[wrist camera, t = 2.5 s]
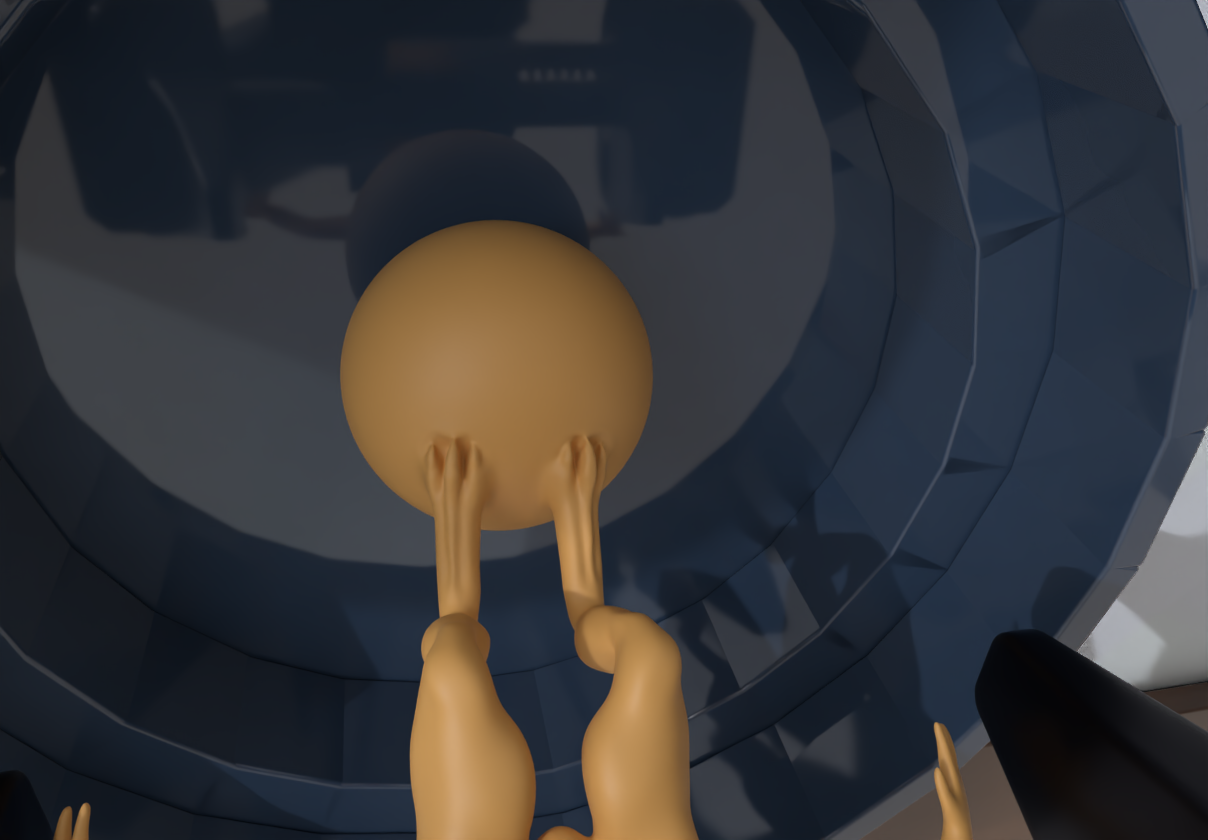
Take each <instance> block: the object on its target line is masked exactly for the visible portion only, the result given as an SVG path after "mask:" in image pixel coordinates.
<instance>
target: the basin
mask: <svg viewBox="0 0 1208 840" xmlns="http://www.w3.org/2000/svg"><path fill="white" fill-rule="evenodd" d="M483 220H509V221H518V222H524V223H529V224H533V225H537V226H541V227H544V228H547V229H550V230H552V231H555V232H557V233H560V234H562V235H564V236H566V237H568V238H570V239H572V240H573V241H575V242H577V243H579V244H580V245H582V246H583V247H585V248H586V249H588V250H589V251H590V252H592V253H593V254H594V255H595V256H597V257H598V258H599V259H600V260H601V261H602V262H603V263H604V264H605V265H606V266H607V267H608V268H609V269H610V270H611V271H612V272H613V273H614V274H615V275H616V276H617V278H618V279H619V280H620V281H621V283H622V284H623V285H624V287H625V288H626V290H627V291H628V293H629V294H630V296H631V298H632V299H633V301H634V303H635V305H636V307H637V309H638V311H639V313H640V315H641V318H642V320H643V323H644V326H645V329H646V332H647V336H648V340H649V344H650V349H651V356H652V366H653V386H652V396H651V403H650V408H649V412H648V416H647V420H646V423H645V426H644V429H643V432H642V434H641V437H640V439H639V441H638V443H637V445H636V447H635V449H634V451H633V453H632V454H631V456H630V458H629V459H628V461H627V462H626V464H625V465H624V467H623V468H622V469H621V471H620V472H619V473H618V474H617V476H616V477H615V478H614V479H613V480H612V481H611V482H610V483H609V484H608V485H607V486H606V487H605V488H604V489H603V490H602V491H601V494H600V499H599V506H598V520H599V535H600V547H601V560H602V576H603V595H604V605H605V606H616V607H620V608H624V609H627V610H629V611H631V612H638V613H642V614H645V615H647V616H648V617H650V618H651V619H652V620H653V621H654V622H655V623H656V624H657V625H659V626H660V627H661V628H662V629H663V630H664V631H666V632H667V633H668V634H669V635H670V636H671V637H672V638H673V640H674V641H675V642H676V644H677V646H678V648H679V651H680V655H681V662H682V672H681V688H682V694H683V699H684V704H685V708H686V713H687V719H688V727H689V771H690V808H691V815H692V819H693V823H694V826H695V829H696V832H697V835H698V838H699V840H860V839H861V838H863V837H864V836H866V835H867V834H869V833H870V832H872V831H873V830H875V829H876V828H878V827H879V826H881V825H882V824H883V823H885V822H886V821H888V820H889V819H891V818H892V817H894V816H895V815H897V814H898V813H900V812H901V811H902V810H904V809H905V808H907V807H908V806H910V805H911V804H913V803H914V802H916V801H917V800H919V799H920V798H922V797H923V796H924V795H926V794H927V793H929V792H930V791H932V790H933V789H935V788H936V785H935V779H934V771H935V769H936V768H937V767H938V768H939V769H940V766H939V760H938V749H937V741H936V736H935V732H934V723H935V722H938V723H942V724H944V725H945V727H946V728H947V730H948V732H949V734H950V736H951V739H952V741H953V744H954V748H955V752H956V757H957V763H958V768H959V770H960V769H961V768H962V767H963V766H964V765H965V764H966V763H967V762H968V761H969V760H970V759H971V758H973V757H974V756H975V755H976V754H977V753H978V752H979V751H980V750H981V749H982V748H983V747H984V746H985V745H986V744H988V743H989V742H990V738H989V736H988V734H987V731H986V729H985V727H984V724H983V722H982V720H981V717H980V715H979V713H978V710H977V707H976V702H975V685H976V682H977V679H978V677H979V674H980V671H981V669H982V666H983V664H984V661H985V659H986V656H987V653H988V651H989V648H990V646H991V643H992V641H993V639H994V638H995V637H996V636H997V635H999V634H1000V633H1003V632H1009V631H1016V630H1023V629H1037V630H1040V631H1042V632H1044V633H1046V634H1048V635H1050V636H1051V637H1053V638H1055V639H1056V640H1058V641H1059V642H1061V643H1063V644H1064V645H1066V646H1068V647H1069V648H1071V649H1073V650H1074V651H1076V652H1077V650H1078V649H1079V648H1080V647H1081V645H1082V644H1083V643H1084V641H1085V640H1086V639H1087V637H1088V636H1089V635H1090V633H1091V632H1092V631H1093V629H1094V628H1095V627H1096V625H1097V624H1098V623H1099V621H1100V620H1101V619H1102V617H1103V616H1104V615H1105V614H1106V612H1107V611H1108V610H1109V608H1110V607H1111V606H1112V604H1113V603H1114V602H1115V600H1116V599H1117V598H1118V596H1119V595H1120V594H1121V592H1122V591H1123V590H1124V588H1125V587H1126V586H1127V584H1128V583H1129V582H1130V581H1131V579H1132V578H1133V577H1134V575H1135V574H1136V573H1137V571H1138V569H1139V567H1138V566H1140V565H1141V564H1142V563H1143V562H1144V560H1145V558H1146V555H1147V553H1148V551H1149V549H1150V547H1151V545H1152V543H1153V541H1154V539H1155V537H1156V535H1157V533H1158V531H1159V529H1160V526H1161V524H1162V522H1163V520H1164V518H1165V516H1166V514H1167V512H1168V510H1169V508H1170V506H1171V504H1172V502H1173V500H1174V497H1175V495H1176V493H1177V491H1178V489H1179V487H1180V485H1181V483H1182V481H1183V479H1184V477H1185V475H1186V473H1187V471H1188V468H1189V466H1190V464H1191V462H1192V460H1193V458H1194V456H1195V454H1196V452H1197V450H1198V448H1199V446H1200V444H1201V441H1202V439H1203V437H1204V435H1205V431H1204V429H1205V428H1206V427H1207V426H1208V28H1207V26H1206V23H1205V21H1204V18H1203V16H1202V14H1201V11H1200V9H1199V6H1198V4H1197V1H1196V0H0V772H3V771H10V770H18V771H20V772H22V773H23V774H25V775H26V776H27V778H28V779H29V781H30V783H31V785H32V787H33V790H34V792H35V794H36V796H37V798H38V800H39V803H40V805H41V807H42V809H43V811H44V813H45V815H46V818H47V820H48V822H49V824H50V827H51V830H52V835H53V837H54V834H55V831H56V827H57V823H58V820H59V817H60V815H61V813H62V811H63V810H64V809H65V808H66V807H68V806H70V807H71V808H72V837H73V832H74V828H75V824H76V821H77V817H78V814H79V811H80V809H81V807H82V805H83V804H84V803H88V804H89V805H90V819H89V830H88V837H89V840H417V825H416V813H415V806H414V800H413V794H412V786H411V775H410V741H411V733H412V727H413V721H414V716H415V710H416V704H417V698H418V692H419V687H420V682H421V676H422V670H423V665H424V660H423V657H422V652H421V644H422V639H423V636H424V633H425V631H426V630H427V628H428V627H429V626H430V625H431V624H432V623H433V622H434V621H436V620H437V619H439V618H440V615H439V602H438V587H437V568H436V542H435V520H434V517H432V516H430V515H428V514H426V513H424V512H422V511H420V510H419V509H417V508H415V507H414V506H412V505H410V504H409V503H408V502H406V501H405V500H403V499H402V498H401V497H399V496H398V495H397V494H396V493H395V492H393V491H392V490H391V489H390V488H389V487H388V486H387V485H386V484H385V483H384V482H383V481H382V480H381V479H380V478H379V476H378V475H377V474H376V473H375V472H374V470H373V469H372V468H371V466H370V465H369V464H368V462H367V461H366V459H365V458H364V456H363V454H362V453H361V451H360V449H359V447H358V445H357V444H356V441H355V439H354V437H353V435H352V432H351V430H350V427H349V424H348V421H347V418H346V414H345V410H344V406H343V401H342V394H341V383H340V366H341V355H342V348H343V343H344V338H345V335H346V331H347V328H348V325H349V322H350V319H351V317H352V314H353V312H354V310H355V308H356V306H357V304H358V302H359V300H360V298H361V296H362V295H363V293H364V291H365V290H366V288H367V287H368V286H369V284H370V283H371V281H372V280H373V279H374V278H375V276H376V275H377V274H378V273H379V272H380V271H381V270H382V269H383V267H384V266H385V265H386V264H387V263H389V262H390V261H391V260H392V259H393V258H394V257H395V256H396V255H398V254H399V253H400V252H401V251H403V250H404V249H406V248H407V247H408V246H410V245H412V244H413V243H415V242H416V241H418V240H420V239H422V238H424V237H426V236H428V235H430V234H432V233H434V232H437V231H439V230H442V229H445V228H448V227H451V226H454V225H458V224H463V223H468V222H474V221H483ZM480 584H481V594H480V605H479V614H478V622H479V623H480V624H481V625H482V626H483V627H484V628H485V629H486V630H487V632H488V633H489V636H490V649H489V654H488V657H487V660H486V663H487V666H488V668H489V671H490V674H491V677H492V680H493V684H494V687H495V690H496V693H497V696H498V698H499V700H500V703H501V704H502V706H503V708H504V709H505V711H506V712H507V713H508V715H509V716H510V717H511V718H512V720H513V721H514V722H515V723H516V725H517V726H518V728H519V729H520V731H521V732H522V734H523V736H524V738H525V740H526V742H527V745H528V747H529V750H530V753H531V756H532V760H533V764H534V769H535V778H536V798H535V809H534V816H533V821H532V825H531V829H530V834H529V840H537V839H538V838H539V837H540V836H541V835H542V834H543V833H545V832H546V831H547V830H549V829H551V828H553V827H557V826H566V827H570V828H572V829H574V830H576V831H577V832H579V833H580V834H582V835H584V836H586V837H590V836H591V835H592V834H593V819H592V815H591V812H590V808H589V804H588V800H587V795H586V791H585V786H584V780H583V773H582V744H583V739H584V735H585V732H586V730H587V727H588V725H589V723H590V722H591V720H592V719H593V717H594V716H595V714H596V713H597V711H598V710H599V709H600V707H601V706H602V705H603V703H604V702H605V700H606V698H607V696H608V694H609V692H610V689H611V686H612V683H613V677H614V674H610V673H605V672H602V671H599V670H596V669H593V668H591V667H589V666H587V665H586V664H585V663H584V662H583V661H582V660H581V659H580V658H579V656H578V654H577V651H576V648H575V641H574V634H575V630H574V629H573V627H572V625H571V622H570V619H569V616H568V612H567V607H566V602H565V597H564V592H563V585H562V575H561V566H560V558H559V551H558V544H557V537H556V529H555V522H554V520H553V521H550V522H547V523H544V524H541V525H537V526H533V527H529V528H523V529H516V530H505V531H490V530H481V536H480Z"/></svg>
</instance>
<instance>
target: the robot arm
mask: <svg viewBox="0 0 1208 840" xmlns="http://www.w3.org/2000/svg"><path fill="white" fill-rule="evenodd" d="M975 702H976V707H977V710H978V713H979V715H980V717H981V720H982V722H983V724H984V727H985V729H986V731H987V734H988V736H989V738H990V741H991V743H992V745H993V748H994V750H995V752H996V755H997V757H998V759H999V762H1000V764H1001V766H1002V769H1003V771H1004V773H1005V776H1006V778H1007V780H1008V783H1009V785H1010V787H1011V790H1012V792H1013V794H1014V797H1015V799H1016V801H1017V804H1018V806H1019V808H1020V811H1021V813H1022V815H1023V818H1024V820H1025V822H1026V825H1027V827H1028V829H1029V831H1030V833H1031V836H1032V838H1033V840H1208V731H1206V730H1204V729H1203V728H1201V727H1199V726H1198V725H1196V724H1195V723H1193V722H1191V721H1190V720H1188V719H1186V718H1185V717H1183V716H1181V715H1180V714H1178V713H1176V712H1175V711H1173V710H1171V709H1170V708H1168V707H1167V706H1165V705H1163V704H1162V703H1160V702H1158V701H1157V700H1155V699H1153V698H1152V697H1150V696H1148V695H1147V694H1145V693H1143V692H1142V691H1140V690H1139V689H1137V688H1135V687H1134V686H1132V685H1130V684H1129V683H1127V682H1125V681H1124V680H1122V679H1120V678H1119V677H1117V676H1115V675H1114V674H1112V673H1111V672H1109V671H1107V670H1106V669H1104V668H1102V667H1101V666H1099V665H1097V664H1096V663H1094V662H1092V661H1091V660H1089V659H1087V658H1086V657H1084V656H1083V655H1081V654H1079V653H1078V652H1076V651H1074V650H1073V649H1071V648H1069V647H1068V646H1066V645H1064V644H1063V643H1061V642H1059V641H1058V640H1056V639H1055V638H1053V637H1051V636H1050V635H1048V634H1046V633H1044V632H1042V631H1040V630H1037V629H1023V630H1016V631H1009V632H1003V633H1000V634H999V635H997V636H996V637H995V638H994V639H993V641H992V643H991V646H990V648H989V651H988V653H987V656H986V659H985V661H984V664H983V666H982V669H981V671H980V674H979V677H978V679H977V682H976V685H975ZM0 840H53V835H52V830H51V827H50V824H49V822H48V820H47V818H46V815H45V813H44V811H43V809H42V807H41V805H40V803H39V800H38V798H37V796H36V794H35V792H34V790H33V787H32V785H31V783H30V781H29V779H28V778H27V776H26V775H25V774H23V773H22V772H20V771H18V770H10V771H3V772H0Z"/></svg>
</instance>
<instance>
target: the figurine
mask: <svg viewBox="0 0 1208 840" xmlns="http://www.w3.org/2000/svg"><path fill="white" fill-rule="evenodd" d="M340 383H341V394H342V401H343V406H344V410H345V414H346V418H347V421H348V424H349V427H350V430H351V432H352V435H353V437H354V439H355V441H356V444H357V445H358V447H359V449H360V451H361V453H362V454H363V456H364V458H365V459H366V461H367V462H368V464H369V465H370V466H371V468H372V469H373V470H374V472H375V473H376V474H377V475H378V476H379V478H380V479H381V480H382V481H383V482H384V483H385V484H386V485H387V486H388V487H389V488H390V489H391V490H392V491H393V492H395V493H396V494H397V495H398V496H399V497H401V498H402V499H403V500H405V501H406V502H408V503H409V504H410V505H412V506H414V507H415V508H417V509H419V510H420V511H422V512H424V513H426V514H428V515H430V516H432V517H434V520H435V542H436V568H437V587H438V602H439V615H440V618H439V619H437V620H436V621H434V622H433V623H432V624H431V625H430V626H429V627H428V628H427V630H426V631H425V633H424V636H423V639H422V644H421V652H422V657H423V660H424V665H423V670H422V676H421V682H420V687H419V692H418V698H417V704H416V710H415V716H414V721H413V727H412V733H411V741H410V775H411V786H412V794H413V800H414V806H415V813H416V825H417V840H529V834H530V829H531V825H532V821H533V816H534V809H535V798H536V778H535V769H534V764H533V760H532V756H531V753H530V750H529V747H528V745H527V742H526V740H525V738H524V736H523V734H522V732H521V731H520V729H519V728H518V726H517V725H516V723H515V722H514V721H513V720H512V718H511V717H510V716H509V715H508V713H507V712H506V711H505V709H504V708H503V706H502V704H501V703H500V700H499V698H498V696H497V693H496V690H495V687H494V684H493V680H492V677H491V674H490V671H489V668H488V666H487V663H486V660H487V657H488V654H489V649H490V636H489V633H488V632H487V630H486V629H485V628H484V627H483V626H482V625H481V624H480V623H479V622H478V614H479V605H480V594H481V584H480V536H481V530H490V531H505V530H516V529H523V528H529V527H533V526H537V525H541V524H544V523H547V522H550V521H553V520H554V522H555V529H556V537H557V544H558V551H559V558H560V566H561V575H562V585H563V592H564V597H565V602H566V607H567V612H568V616H569V619H570V622H571V625H572V627H573V629H574V630H575V634H574V641H575V648H576V651H577V654H578V656H579V658H580V659H581V660H582V661H583V662H584V663H585V664H586V665H587V666H589V667H591V668H593V669H596V670H599V671H602V672H605V673H610V674H614V677H613V683H612V686H611V689H610V692H609V694H608V696H607V698H606V700H605V702H604V703H603V705H602V706H601V707H600V709H599V710H598V711H597V713H596V714H595V716H594V717H593V719H592V720H591V722H590V723H589V725H588V727H587V730H586V732H585V735H584V739H583V744H582V773H583V780H584V786H585V791H586V795H587V800H588V804H589V808H590V812H591V815H592V819H593V834H592V835H591V836H590V837H586V836H584V835H582V834H580V833H579V832H577V831H576V830H574V829H572V828H570V827H566V826H557V827H553V828H551V829H549V830H547V831H546V832H545V833H543V834H542V835H541V836H540V837H539V838H538V839H537V840H699V838H698V835H697V832H696V829H695V826H694V823H693V819H692V815H691V808H690V771H689V727H688V719H687V713H686V708H685V704H684V699H683V694H682V688H681V672H682V662H681V655H680V651H679V648H678V646H677V644H676V642H675V641H674V640H673V638H672V637H671V636H670V635H669V634H668V633H667V632H666V631H664V630H663V629H662V628H661V627H660V626H659V625H657V624H656V623H655V622H654V621H653V620H652V619H651V618H650V617H648V616H647V615H645V614H642V613H638V612H631V611H629V610H627V609H624V608H620V607H616V606H605V605H604V595H603V576H602V560H601V547H600V535H599V520H598V506H599V499H600V494H601V491H602V490H603V489H604V488H605V487H606V486H607V485H608V484H609V483H610V482H611V481H612V480H613V479H614V478H615V477H616V476H617V474H618V473H619V472H620V471H621V469H622V468H623V467H624V465H625V464H626V462H627V461H628V459H629V458H630V456H631V454H632V453H633V451H634V449H635V447H636V445H637V443H638V441H639V439H640V437H641V434H642V432H643V429H644V426H645V423H646V420H647V416H648V412H649V408H650V403H651V396H652V386H653V366H652V356H651V349H650V344H649V340H648V336H647V332H646V329H645V326H644V323H643V320H642V318H641V315H640V313H639V311H638V309H637V307H636V305H635V303H634V301H633V299H632V298H631V296H630V294H629V293H628V291H627V290H626V288H625V287H624V285H623V284H622V283H621V281H620V280H619V279H618V278H617V276H616V275H615V274H614V273H613V272H612V271H611V270H610V269H609V268H608V267H607V266H606V265H605V264H604V263H603V262H602V261H601V260H600V259H599V258H598V257H597V256H595V255H594V254H593V253H592V252H590V251H589V250H588V249H586V248H585V247H583V246H582V245H580V244H579V243H577V242H575V241H573V240H572V239H570V238H568V237H566V236H564V235H562V234H560V233H557V232H555V231H552V230H550V229H547V228H544V227H541V226H537V225H533V224H529V223H524V222H518V221H509V220H483V221H474V222H468V223H463V224H458V225H454V226H451V227H448V228H445V229H442V230H439V231H437V232H434V233H432V234H430V235H428V236H426V237H424V238H422V239H420V240H418V241H416V242H415V243H413V244H412V245H410V246H408V247H407V248H406V249H404V250H403V251H401V252H400V253H399V254H398V255H396V256H395V257H394V258H393V259H392V260H391V261H390V262H389V263H387V264H386V265H385V266H384V267H383V269H382V270H381V271H380V272H379V273H378V274H377V275H376V276H375V278H374V279H373V280H372V281H371V283H370V284H369V286H368V287H367V288H366V290H365V291H364V293H363V295H362V296H361V298H360V300H359V302H358V304H357V306H356V308H355V310H354V312H353V314H352V317H351V319H350V322H349V325H348V328H347V331H346V335H345V338H344V343H343V348H342V355H341V366H340ZM934 732H935V736H936V741H937V749H938V760H939V766H940V769H939V768H938V767H937V768H936V769H935V771H934V779H935V785H936V789H937V793H938V797H939V800H940V804H941V808H942V813H943V830H942V836H941V840H973V833H972V825H971V818H970V812H969V806H968V801H967V796H966V792H965V788H964V785H963V781H962V778H961V775H960V771H959V768H958V763H957V757H956V752H955V748H954V744H953V741H952V739H951V736H950V734H949V732H948V730H947V728H946V727H945V725H944V724H942V723H938V722H935V723H934ZM89 819H90V805H89V804H88V803H84V804H83V805H82V807H81V809H80V811H79V814H78V817H77V821H76V824H75V828H74V832H73V837H72V808H71V807H70V806H68V807H66V808H65V809H64V810H63V811H62V813H61V815H60V817H59V820H58V823H57V827H56V831H55V834H54V837H53V840H89V837H88V830H89Z"/></svg>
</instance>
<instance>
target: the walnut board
mask: <svg viewBox="0 0 1208 840" xmlns="http://www.w3.org/2000/svg"><path fill="white" fill-rule="evenodd" d="M1143 693H1145V694H1147V695H1148V696H1150V697H1152V698H1153V699H1155V700H1157V701H1158V702H1160V703H1162V704H1163V705H1165V706H1167V707H1168V708H1170V709H1171V710H1173V711H1175V712H1176V713H1178V714H1180V715H1181V716H1183V717H1185V718H1186V719H1188V720H1190V721H1191V722H1193V723H1195V724H1196V725H1198V726H1199V727H1201V728H1203V729H1204V730H1206V731H1208V682H1204V683H1198V684H1191V685H1185V686H1179V687H1173V688H1167V689H1160V690H1154V691H1148V692H1143ZM959 771H960V775H961V778H962V781H963V785H964V788H965V792H966V796H967V801H968V806H969V812H970V818H971V825H972V833H973V840H1033V838H1032V836H1031V833H1030V831H1029V829H1028V827H1027V825H1026V822H1025V820H1024V818H1023V815H1022V813H1021V811H1020V808H1019V806H1018V804H1017V801H1016V799H1015V797H1014V794H1013V792H1012V790H1011V787H1010V785H1009V783H1008V780H1007V778H1006V776H1005V773H1004V771H1003V769H1002V766H1001V764H1000V762H999V759H998V757H997V755H996V752H995V750H994V748H993V745H992V743H991V741H990V742H989V743H988V744H986V745H985V746H984V747H983V748H982V749H981V750H980V751H979V752H978V753H977V754H976V755H975V756H974V757H973V758H971V759H970V760H969V761H968V762H967V763H966V764H965V765H964V766H963V767H962V768H961V769H960V770H959ZM942 830H943V813H942V808H941V804H940V800H939V797H938V793H937V789H936V788H935V789H933V790H932V791H930V792H929V793H927V794H926V795H924V796H923V797H922V798H920V799H919V800H917V801H916V802H914V803H913V804H911V805H910V806H908V807H907V808H905V809H904V810H902V811H901V812H900V813H898V814H897V815H895V816H894V817H892V818H891V819H889V820H888V821H886V822H885V823H883V824H882V825H881V826H879V827H878V828H876V829H875V830H873V831H872V832H870V833H869V834H867V835H866V836H864V837H863V838H861V839H860V840H941V836H942Z"/></svg>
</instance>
